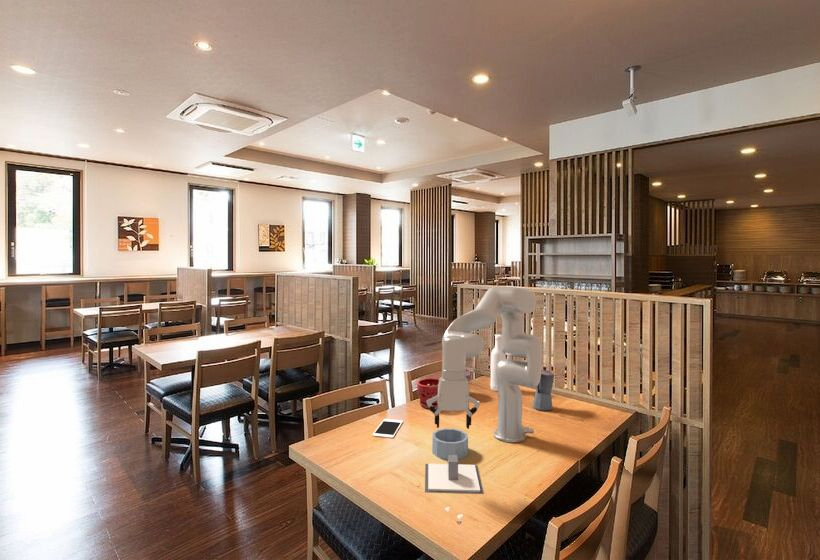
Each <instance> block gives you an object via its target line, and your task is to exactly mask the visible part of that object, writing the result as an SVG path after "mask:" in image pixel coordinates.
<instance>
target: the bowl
mask: <svg viewBox="0 0 820 560" xmlns="http://www.w3.org/2000/svg"><path fill="white" fill-rule="evenodd" d="M431 436H432V438H431V439H432V443H431V444H432V454H433V455H434V456H435V457H437V458H439V459H442V460H447V461H448V455H457V458H458V460H460V459H464V458H465V457H466V456H468V454H469V434H468V433H466V432H465V431H463V430H461V429H457V428H447V427H446V428H440V429H437V430H435V431H434V432H432V434H431Z"/></svg>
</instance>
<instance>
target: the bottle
mask: <svg viewBox="0 0 820 560" xmlns="http://www.w3.org/2000/svg"><path fill="white" fill-rule="evenodd" d="M494 339H495V340H494V342H495V343H494V348H493V349H492V350H491V353H490V386H489V387H490V390H491V391H493V392H498V380H497V374H496V367H497V364H498V362H499V361H500V360H503V359H506V358H507V357H506V356H507V355H506V354H504V353H503V352H502V347H501V342H502V334H495V337H494Z"/></svg>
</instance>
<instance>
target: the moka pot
mask: <svg viewBox="0 0 820 560" xmlns="http://www.w3.org/2000/svg"><path fill="white" fill-rule="evenodd" d="M554 380H555V372H553V371H551V370H547V366H542V369H541V378H540V382H539V384H538V386H536V387H535V395H534V400H533V405H532V406H533V408H534V409H536V410H540V411H548V412H549V411H552V410H553V401H552V400H553V398H552V397H553V396H552V389H553V385H554Z"/></svg>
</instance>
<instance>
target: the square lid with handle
mask: <svg viewBox="0 0 820 560" xmlns="http://www.w3.org/2000/svg"><path fill="white" fill-rule="evenodd" d="M427 464H428V491H462V492H480V486H479V482H478V477H477V473H476V468H475V465H476V464H460V463H459V459H458V458H457V455H448V460H447V463H427Z"/></svg>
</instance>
